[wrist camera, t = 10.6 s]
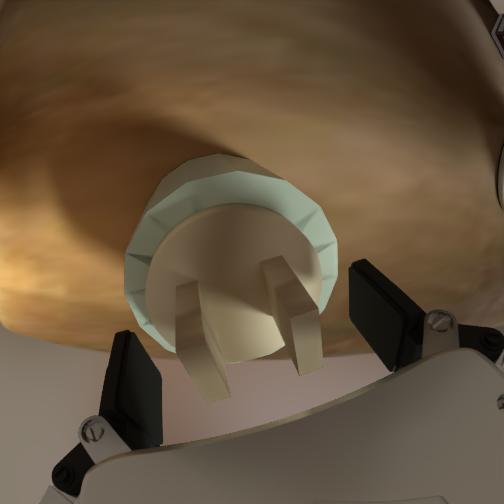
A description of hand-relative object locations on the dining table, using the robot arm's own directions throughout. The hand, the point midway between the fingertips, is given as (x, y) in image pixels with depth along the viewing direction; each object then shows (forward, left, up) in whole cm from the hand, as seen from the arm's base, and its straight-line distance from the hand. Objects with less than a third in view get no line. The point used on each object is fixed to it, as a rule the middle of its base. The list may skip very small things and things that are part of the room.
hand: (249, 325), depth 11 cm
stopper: (0, 0, -6) cm, 6 cm away
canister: (0, 0, -11) cm, 11 cm away
